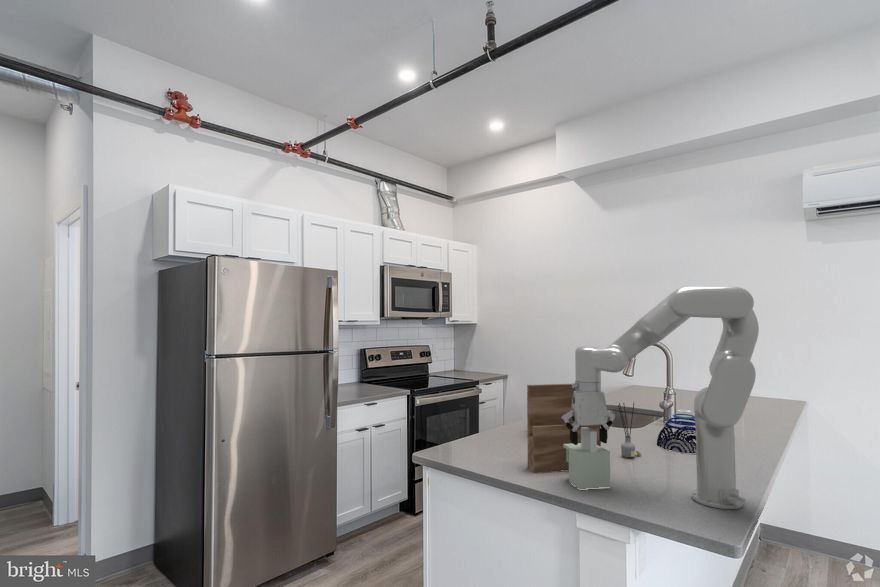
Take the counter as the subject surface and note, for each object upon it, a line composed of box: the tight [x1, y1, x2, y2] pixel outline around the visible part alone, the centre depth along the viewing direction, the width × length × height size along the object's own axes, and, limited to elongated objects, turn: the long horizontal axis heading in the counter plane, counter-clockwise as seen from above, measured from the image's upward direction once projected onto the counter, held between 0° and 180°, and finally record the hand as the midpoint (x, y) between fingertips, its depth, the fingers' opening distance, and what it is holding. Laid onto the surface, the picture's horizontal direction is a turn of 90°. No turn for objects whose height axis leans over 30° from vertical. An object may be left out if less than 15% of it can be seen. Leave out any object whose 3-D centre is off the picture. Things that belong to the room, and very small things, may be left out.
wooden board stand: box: [526, 383, 602, 474], centre depth 163 cm, size 6×24×28 cm, turn 101°
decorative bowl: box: [656, 409, 696, 454], centre depth 189 cm, size 20×20×14 cm
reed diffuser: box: [617, 402, 642, 458], centre depth 176 cm, size 10×7×20 cm
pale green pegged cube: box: [563, 427, 611, 489], centre depth 148 cm, size 10×10×17 cm
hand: (588, 443), depth 146 cm, fingers open, 9 cm apart
